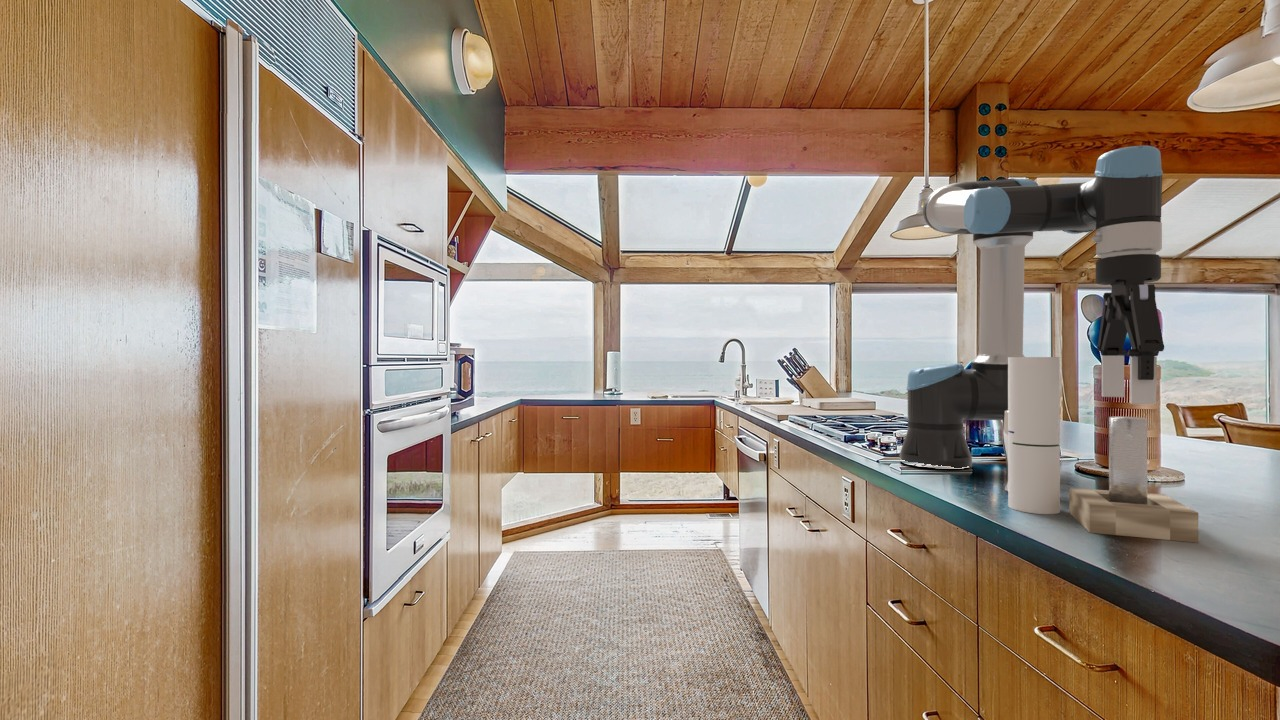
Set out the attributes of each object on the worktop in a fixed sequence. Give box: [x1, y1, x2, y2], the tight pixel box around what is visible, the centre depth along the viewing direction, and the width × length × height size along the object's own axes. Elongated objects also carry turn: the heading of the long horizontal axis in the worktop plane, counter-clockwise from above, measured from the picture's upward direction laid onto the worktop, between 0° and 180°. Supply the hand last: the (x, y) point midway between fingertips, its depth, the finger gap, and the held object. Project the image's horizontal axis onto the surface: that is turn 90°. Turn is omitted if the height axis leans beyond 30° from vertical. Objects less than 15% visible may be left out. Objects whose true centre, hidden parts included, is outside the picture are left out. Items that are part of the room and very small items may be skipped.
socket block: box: [1068, 487, 1199, 543], centre depth 89 cm, size 12×12×4 cm
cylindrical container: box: [1007, 356, 1061, 515], centre depth 100 cm, size 7×7×25 cm
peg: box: [1108, 415, 1148, 505], centre depth 89 cm, size 4×4×16 cm
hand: (1126, 400), depth 89 cm, fingers open, 13 cm apart
